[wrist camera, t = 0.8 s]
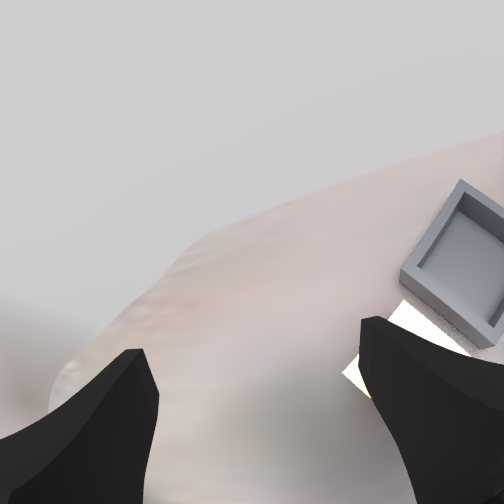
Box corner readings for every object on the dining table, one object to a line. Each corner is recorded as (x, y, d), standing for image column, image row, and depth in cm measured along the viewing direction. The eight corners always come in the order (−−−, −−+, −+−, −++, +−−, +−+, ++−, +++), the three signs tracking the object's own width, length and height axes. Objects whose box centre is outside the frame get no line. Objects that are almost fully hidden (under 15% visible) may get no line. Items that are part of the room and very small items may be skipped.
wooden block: (447, 359, 18) (470, 356, 12) (402, 412, 18) (407, 431, 12) (399, 319, 21) (403, 300, 15) (355, 370, 21) (342, 372, 15)
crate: (530, 259, 17) (547, 242, 14) (480, 349, 17) (495, 345, 14) (454, 201, 22) (460, 178, 19) (399, 282, 22) (400, 268, 19)
